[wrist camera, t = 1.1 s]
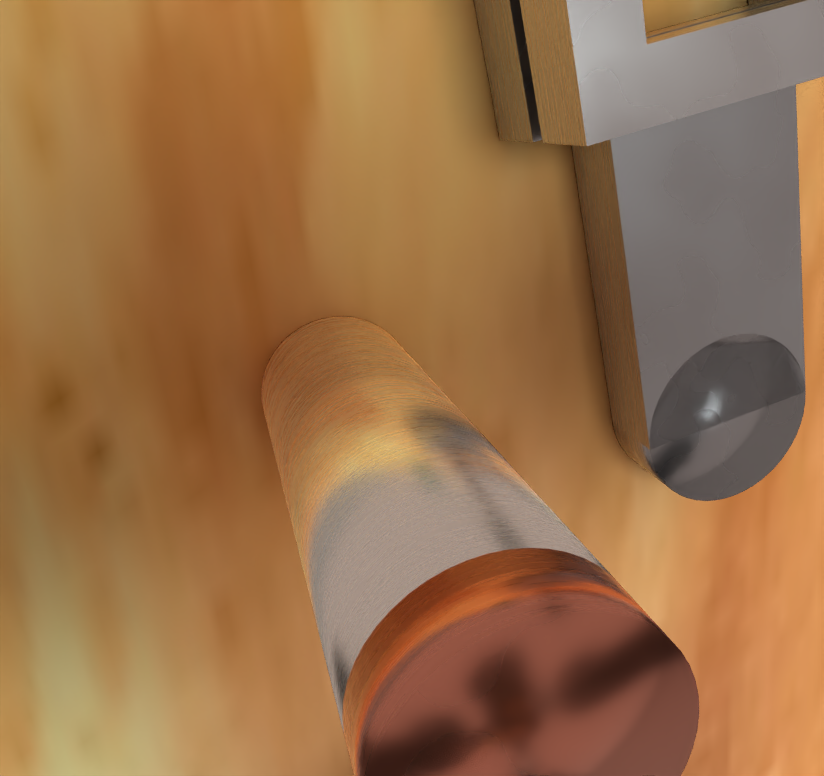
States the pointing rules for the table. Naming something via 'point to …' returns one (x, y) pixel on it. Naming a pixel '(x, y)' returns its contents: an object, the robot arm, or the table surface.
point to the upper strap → (658, 63)
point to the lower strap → (686, 271)
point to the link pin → (456, 585)
